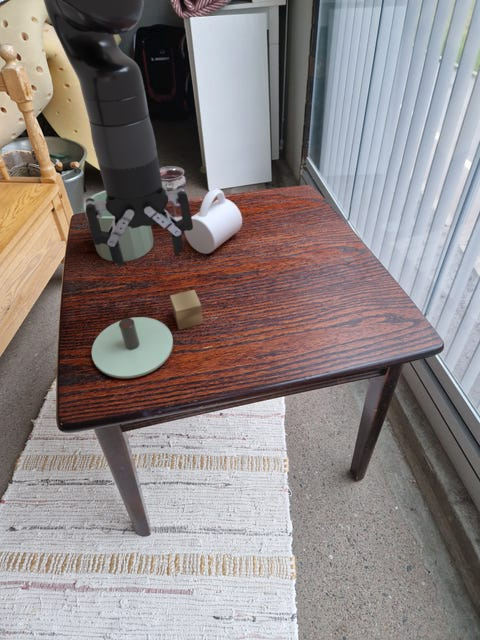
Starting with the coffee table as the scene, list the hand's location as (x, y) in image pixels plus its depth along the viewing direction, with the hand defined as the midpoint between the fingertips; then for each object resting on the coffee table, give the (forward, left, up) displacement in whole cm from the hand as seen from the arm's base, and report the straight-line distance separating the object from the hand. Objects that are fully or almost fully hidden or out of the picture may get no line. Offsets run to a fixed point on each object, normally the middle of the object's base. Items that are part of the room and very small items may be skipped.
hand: (149, 258), depth 65 cm
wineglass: (+11, +34, -15) cm, 39 cm away
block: (+5, 0, -15) cm, 16 cm away
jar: (-2, +28, -15) cm, 32 cm away
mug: (+17, +22, -15) cm, 32 cm away
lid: (-6, -4, -14) cm, 16 cm away
